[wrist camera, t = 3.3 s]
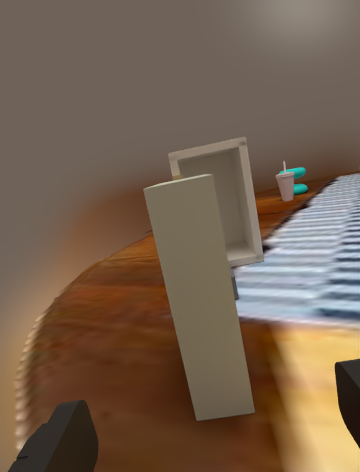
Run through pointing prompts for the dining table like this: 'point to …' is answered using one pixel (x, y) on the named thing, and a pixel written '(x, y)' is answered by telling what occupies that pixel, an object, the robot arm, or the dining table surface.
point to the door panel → (201, 294)
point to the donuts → (298, 173)
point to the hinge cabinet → (227, 195)
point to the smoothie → (286, 184)
